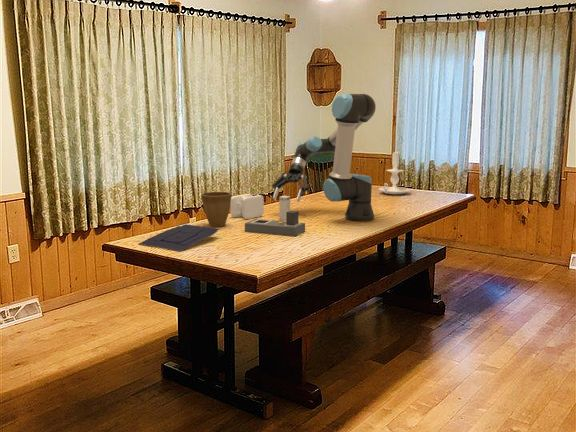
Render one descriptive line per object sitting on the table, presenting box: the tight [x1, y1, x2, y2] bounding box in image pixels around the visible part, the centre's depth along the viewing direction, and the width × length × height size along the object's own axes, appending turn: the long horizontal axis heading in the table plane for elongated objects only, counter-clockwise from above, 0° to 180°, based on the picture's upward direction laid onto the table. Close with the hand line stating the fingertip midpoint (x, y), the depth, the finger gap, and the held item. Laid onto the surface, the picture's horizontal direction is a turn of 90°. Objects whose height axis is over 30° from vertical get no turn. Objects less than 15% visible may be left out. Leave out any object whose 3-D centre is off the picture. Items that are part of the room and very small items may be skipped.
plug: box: [278, 195, 291, 221], centre depth 318 cm, size 4×5×12 cm
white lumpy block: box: [230, 193, 265, 220], centre depth 325 cm, size 15×11×12 cm
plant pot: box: [200, 191, 233, 228], centre depth 303 cm, size 15×15×16 cm
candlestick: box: [378, 151, 411, 195], centre depth 398 cm, size 21×25×28 cm
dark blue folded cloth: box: [138, 223, 221, 252], centre depth 272 cm, size 24×30×4 cm
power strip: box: [244, 210, 306, 237], centre depth 291 cm, size 26×12×10 cm, turn 67°
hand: (286, 199), depth 323 cm, fingers open, 13 cm apart
